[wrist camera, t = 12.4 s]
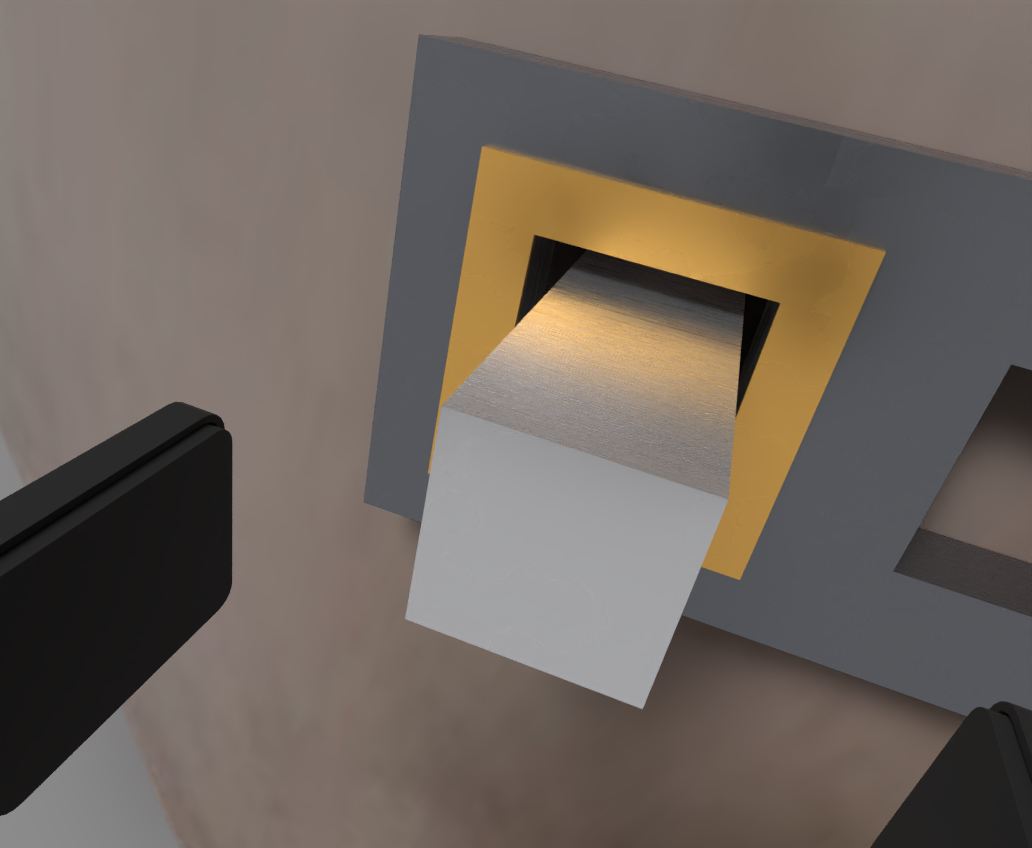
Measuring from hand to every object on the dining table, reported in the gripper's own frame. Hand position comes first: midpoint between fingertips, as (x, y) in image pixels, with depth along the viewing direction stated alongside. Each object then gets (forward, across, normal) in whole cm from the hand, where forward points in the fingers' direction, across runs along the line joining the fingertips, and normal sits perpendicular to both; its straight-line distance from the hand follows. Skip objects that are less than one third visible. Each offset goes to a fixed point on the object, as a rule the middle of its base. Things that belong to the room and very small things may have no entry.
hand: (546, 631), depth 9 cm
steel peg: (+12, +1, 0) cm, 12 cm away
